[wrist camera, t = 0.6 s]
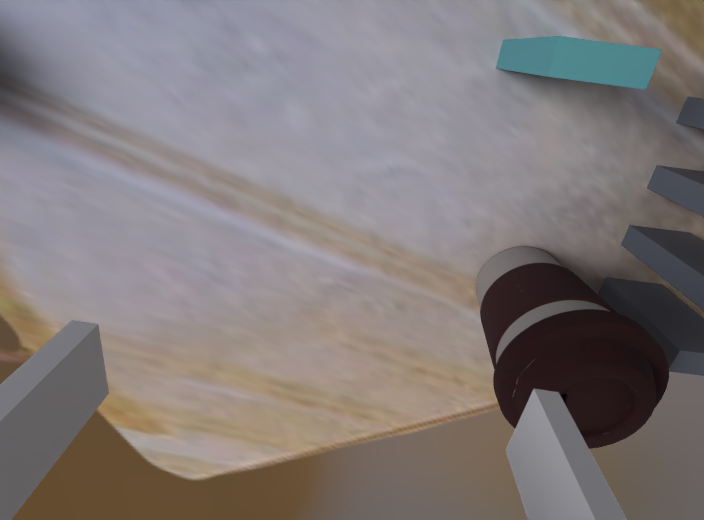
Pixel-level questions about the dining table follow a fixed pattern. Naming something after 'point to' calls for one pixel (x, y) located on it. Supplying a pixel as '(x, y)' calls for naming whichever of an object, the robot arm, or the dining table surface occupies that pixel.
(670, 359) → the domino
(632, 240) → the domino
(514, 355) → the coffee cup
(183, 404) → the dining table surface
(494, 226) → the dining table surface
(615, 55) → the domino
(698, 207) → the domino
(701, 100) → the domino
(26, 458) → the robot arm
